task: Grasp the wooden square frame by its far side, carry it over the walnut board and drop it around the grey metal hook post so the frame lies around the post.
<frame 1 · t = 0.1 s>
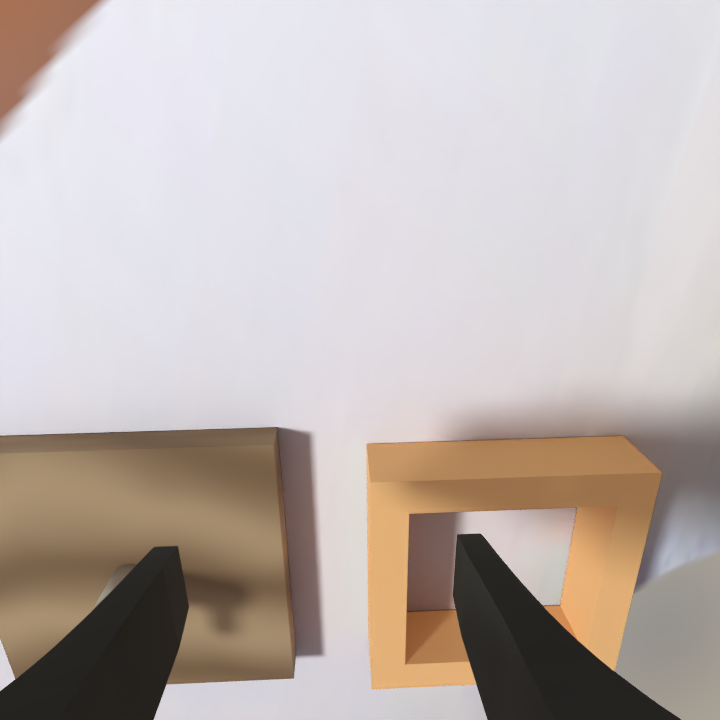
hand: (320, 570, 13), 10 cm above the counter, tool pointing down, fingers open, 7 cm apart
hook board: (145, 556, 25), on the counter
wooden square frame: (485, 543, 25), on the counter
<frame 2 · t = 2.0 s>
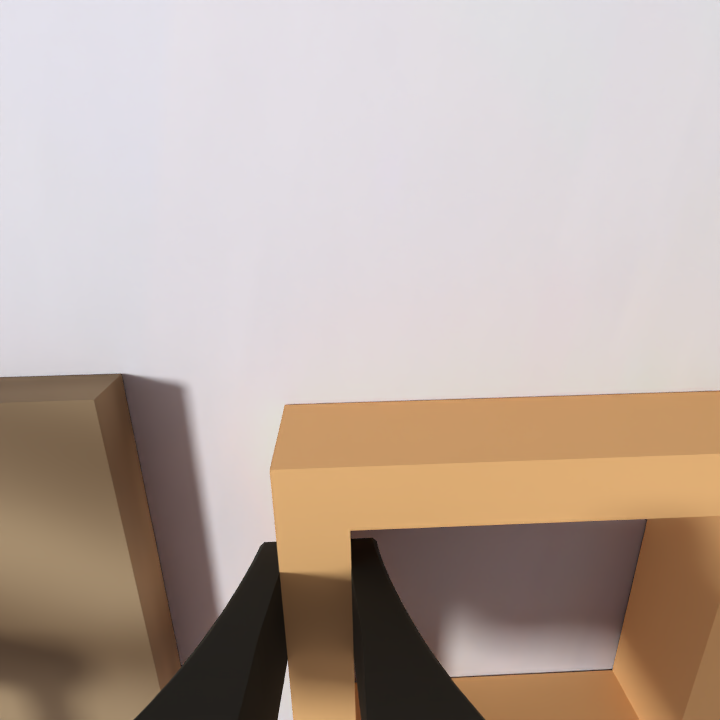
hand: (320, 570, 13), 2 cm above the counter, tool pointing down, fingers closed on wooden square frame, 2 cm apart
wooden square frame: (495, 575, 15), on the counter, touching gripper
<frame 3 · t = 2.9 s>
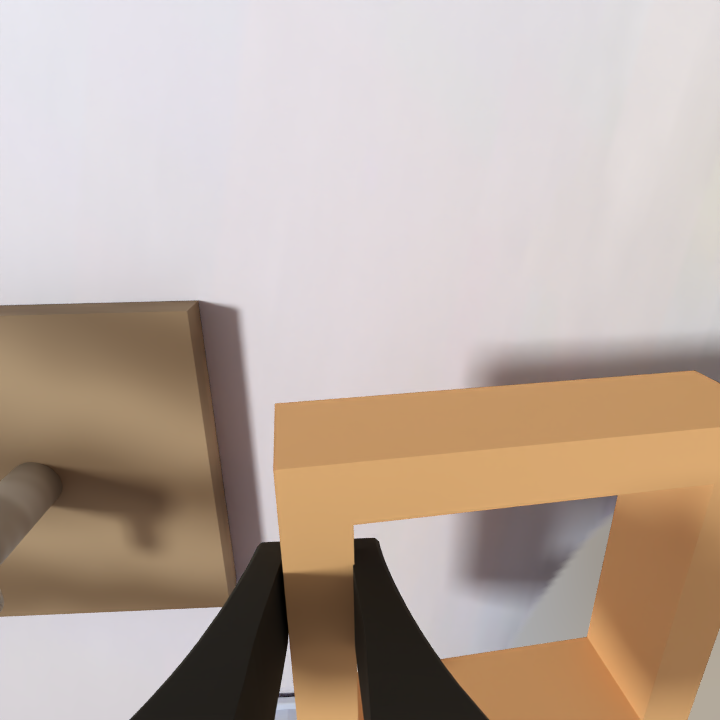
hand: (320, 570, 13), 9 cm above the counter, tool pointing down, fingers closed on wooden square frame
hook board: (56, 462, 21), on the counter
wooden square frame: (480, 557, 16), point 7 cm above the counter, tilted 6°, touching gripper
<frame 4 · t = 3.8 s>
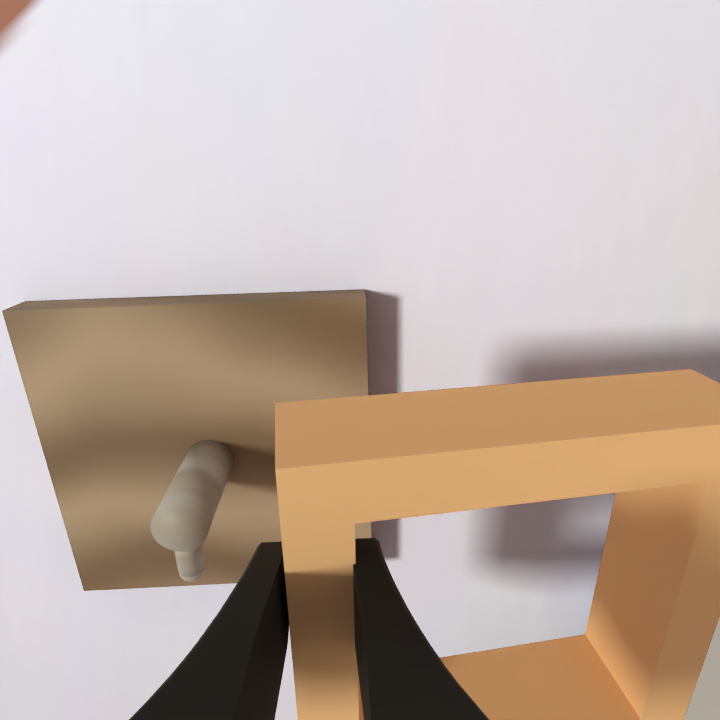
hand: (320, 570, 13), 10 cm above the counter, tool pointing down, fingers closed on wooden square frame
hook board: (217, 442, 23), on the counter
wooden square frame: (479, 555, 16), point 8 cm above the counter, tilted 7°, touching gripper
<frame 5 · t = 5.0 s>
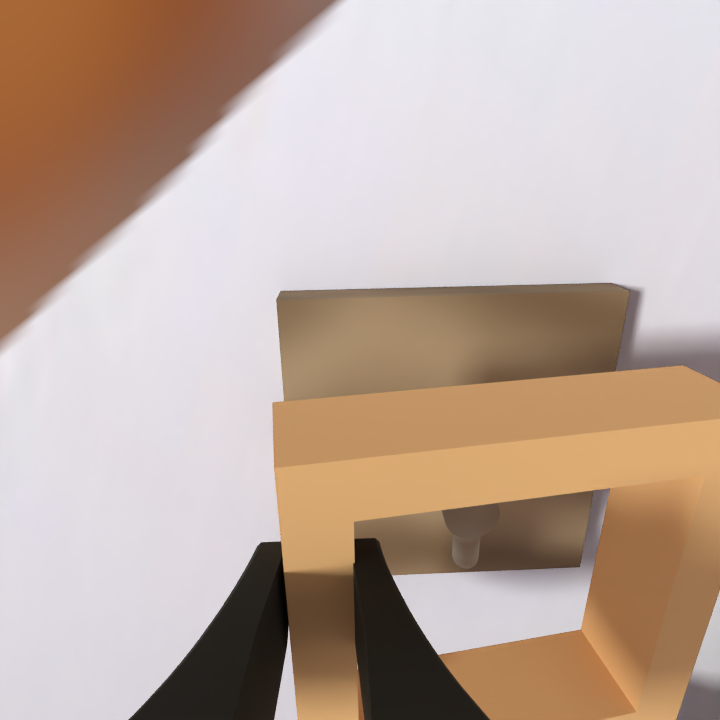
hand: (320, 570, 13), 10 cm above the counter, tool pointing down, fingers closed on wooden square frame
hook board: (440, 433, 23), on the counter
wooden square frame: (476, 552, 16), point 8 cm above the counter, tilted 8°, touching gripper
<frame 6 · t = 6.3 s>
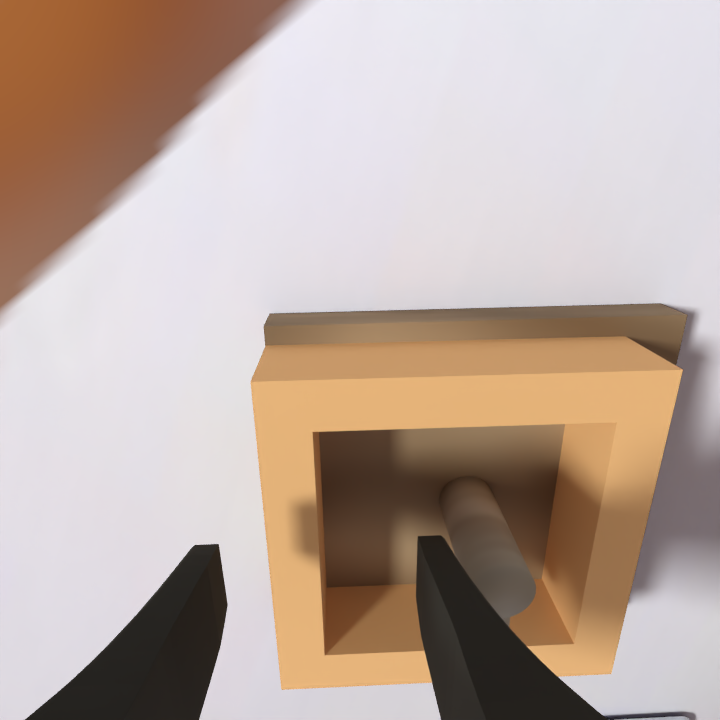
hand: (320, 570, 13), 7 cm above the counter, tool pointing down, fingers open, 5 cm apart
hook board: (456, 475, 20), on the counter
wooden square frame: (439, 492, 19), point 1 cm above the counter, touching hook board
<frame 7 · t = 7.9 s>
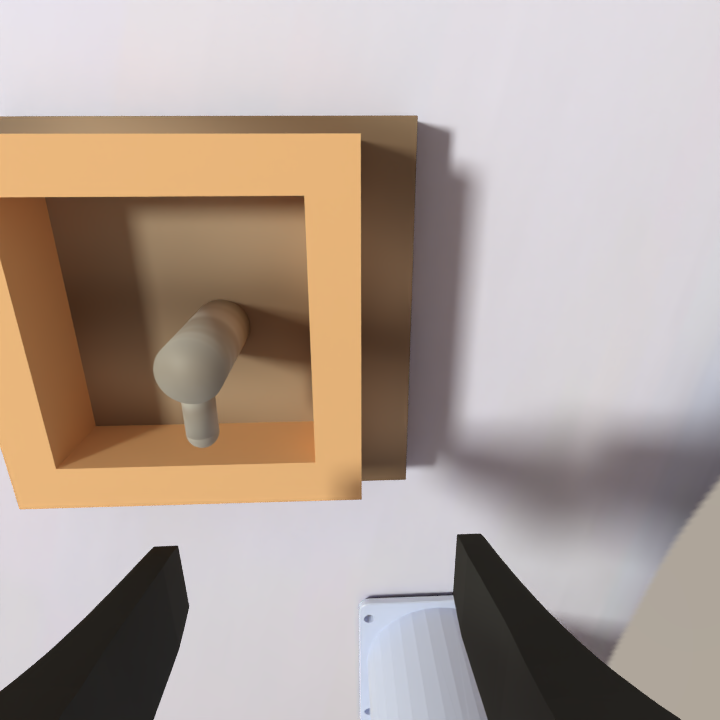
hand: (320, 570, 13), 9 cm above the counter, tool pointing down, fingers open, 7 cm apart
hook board: (230, 314, 20), on the counter
wooden square frame: (194, 317, 18), point 1 cm above the counter, touching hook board
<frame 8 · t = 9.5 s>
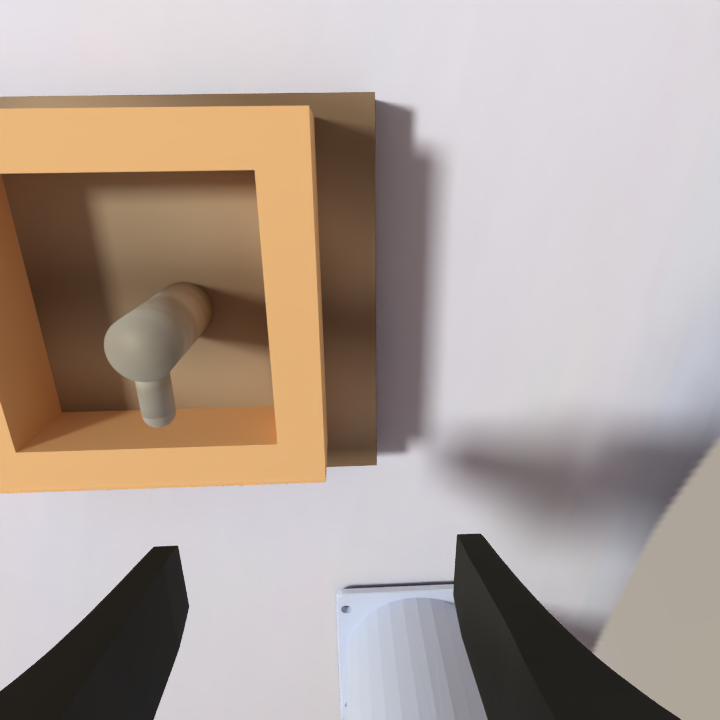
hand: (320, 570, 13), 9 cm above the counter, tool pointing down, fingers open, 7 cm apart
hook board: (196, 298, 20), on the counter
wooden square frame: (157, 300, 18), point 1 cm above the counter, touching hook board
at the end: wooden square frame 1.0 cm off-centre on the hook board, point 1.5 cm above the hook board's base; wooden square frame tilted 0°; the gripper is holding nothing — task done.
